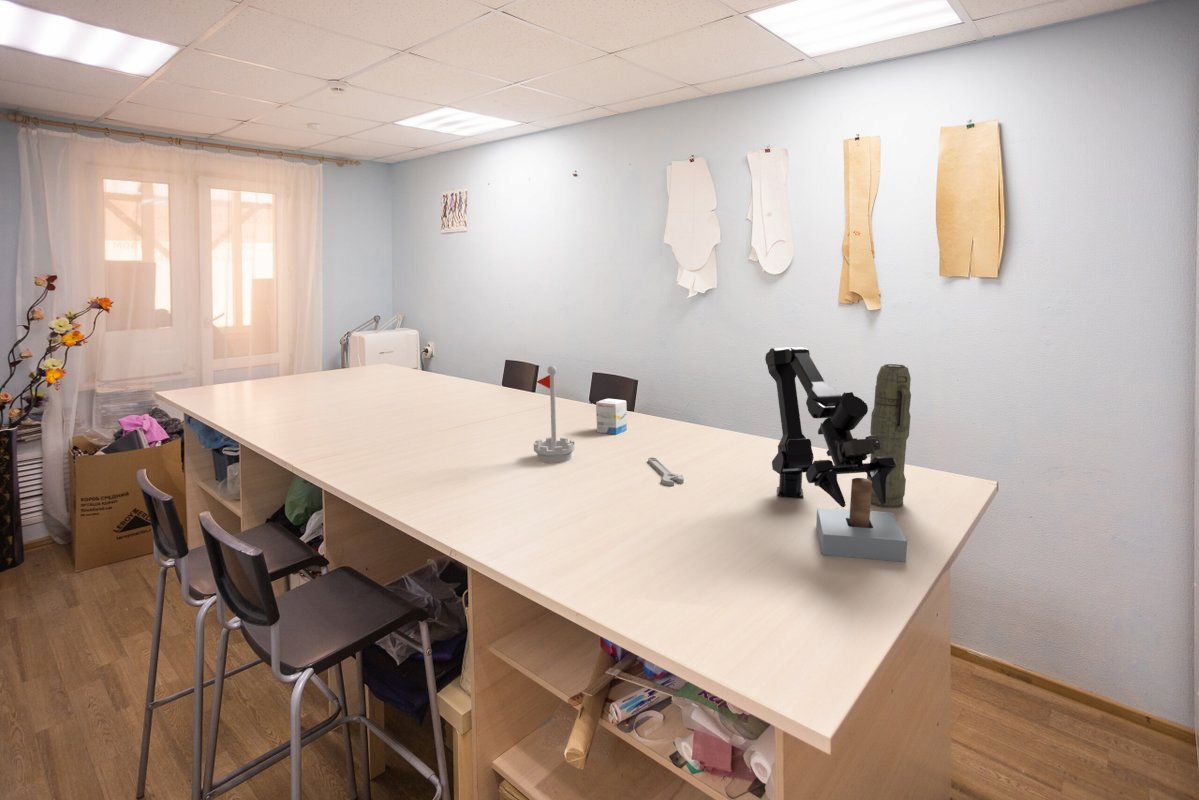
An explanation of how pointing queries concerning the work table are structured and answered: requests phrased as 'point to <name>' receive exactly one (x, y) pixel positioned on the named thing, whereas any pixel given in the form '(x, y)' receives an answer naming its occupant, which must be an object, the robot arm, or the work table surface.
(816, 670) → the work table surface
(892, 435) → the thermos
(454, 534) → the work table surface
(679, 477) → the adjustable wrench
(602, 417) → the ink box
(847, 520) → the hole block
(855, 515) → the pin
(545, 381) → the flag stand
